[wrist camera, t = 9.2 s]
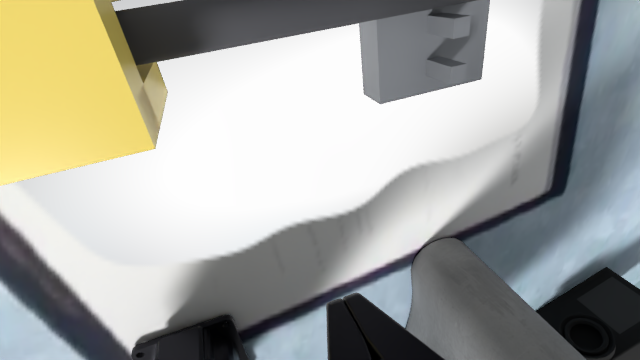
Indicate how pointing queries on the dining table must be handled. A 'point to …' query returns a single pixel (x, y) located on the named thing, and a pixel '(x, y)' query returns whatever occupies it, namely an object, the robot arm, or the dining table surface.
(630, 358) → the digital camera
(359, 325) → the robot arm
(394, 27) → the grey pronged block
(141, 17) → the dark grey rod
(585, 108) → the dining table surface
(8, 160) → the sleeve
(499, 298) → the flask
